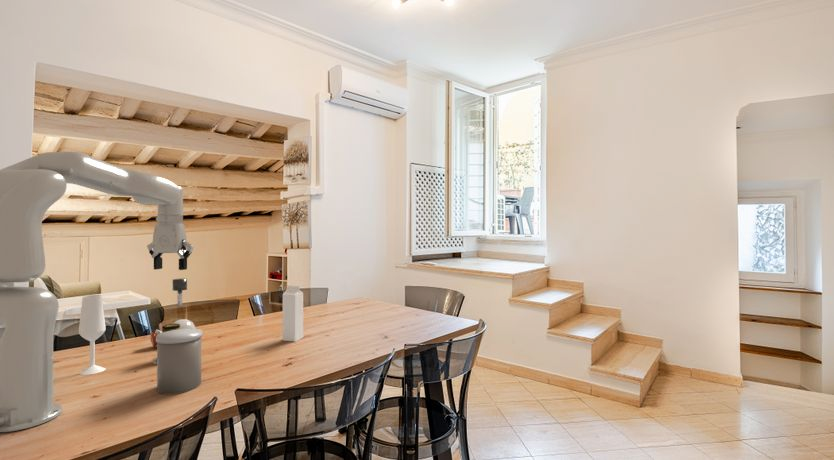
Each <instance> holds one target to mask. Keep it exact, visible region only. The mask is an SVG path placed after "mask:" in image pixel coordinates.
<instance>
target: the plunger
mask: <svg viewBox="0 0 834 460" xmlns="http://www.w3.org/2000/svg"><path fill="white" fill-rule="evenodd" d="M187 290H188V278H173V279H172V291H173V292H174V291H176V292H177V294H176V295H177V300H176V301H177V306H183V291H187Z"/></svg>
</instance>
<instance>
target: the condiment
mask: <svg viewBox="0 0 834 460" xmlns="http://www.w3.org/2000/svg"><path fill="white" fill-rule="evenodd" d="M178 329H180V325H179V324H173V323H167V324H164V325H162V330H161V331H162V333H163V332H167V331H172V330H178ZM153 365H157V356H156V357H153Z"/></svg>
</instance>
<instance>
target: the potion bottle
mask: <svg viewBox="0 0 834 460" xmlns="http://www.w3.org/2000/svg"><path fill="white" fill-rule="evenodd" d="M172 324H179V325H180V329H196V325H195V323H194V322H193V321H191V320H189V319H188V318H184V319H182V318H181V319H178V320H176V321H175V322H173V323H172ZM160 333H162V330H159V329H156V330H155V332H151V331H150V334H149V335H150V342H151V345H152V346H153V348H154V349H155V348H156V347H157V342H156V336H157V335H158V334H160Z"/></svg>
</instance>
